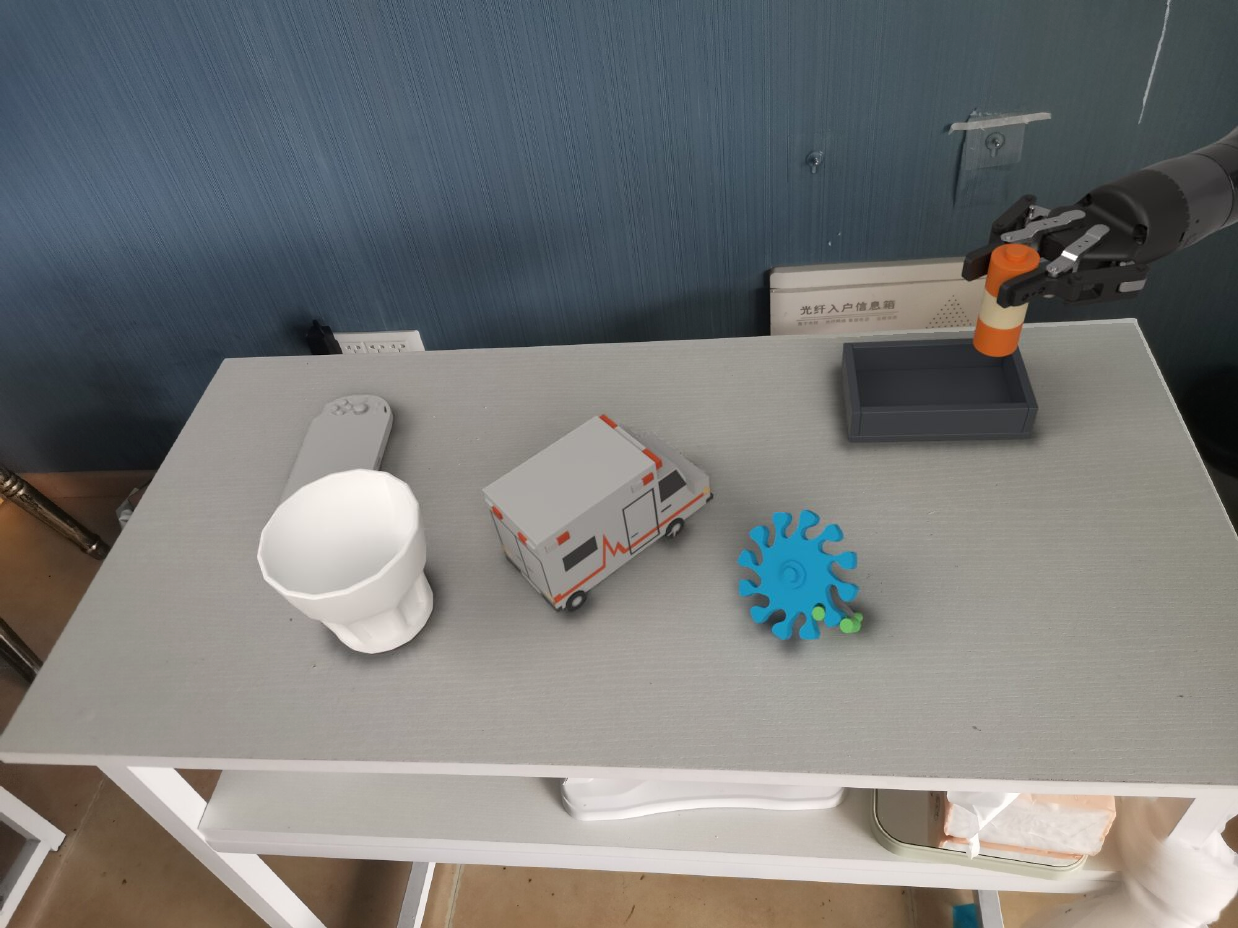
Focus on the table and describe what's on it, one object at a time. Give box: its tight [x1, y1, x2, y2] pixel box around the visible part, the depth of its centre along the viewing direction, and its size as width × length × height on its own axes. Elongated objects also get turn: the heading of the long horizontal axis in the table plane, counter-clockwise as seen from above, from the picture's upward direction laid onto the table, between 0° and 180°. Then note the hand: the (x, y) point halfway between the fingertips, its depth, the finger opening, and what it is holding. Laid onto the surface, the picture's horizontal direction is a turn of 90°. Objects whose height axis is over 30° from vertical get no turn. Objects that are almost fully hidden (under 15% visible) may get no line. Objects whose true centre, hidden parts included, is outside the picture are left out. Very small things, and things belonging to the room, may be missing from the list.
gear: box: [737, 509, 864, 641], centre depth 69 cm, size 11×6×10 cm
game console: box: [276, 394, 394, 509], centre depth 86 cm, size 18×2×8 cm
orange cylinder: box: [972, 243, 1040, 357], centre depth 73 cm, size 4×4×10 cm
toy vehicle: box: [481, 413, 714, 613], centre depth 73 cm, size 10×17×10 cm, turn 129°
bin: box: [840, 337, 1040, 443], centre depth 82 cm, size 16×10×4 cm, turn 85°
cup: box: [256, 469, 434, 655], centre depth 71 cm, size 12×12×11 cm
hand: (983, 283), depth 71 cm, fingers closed on orange cylinder, 3 cm apart
